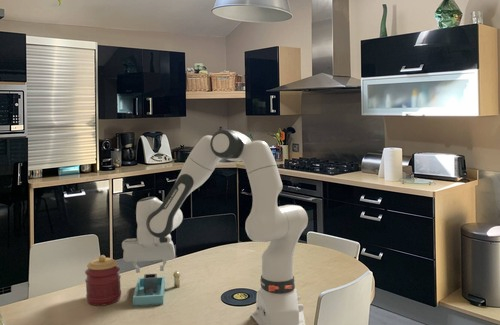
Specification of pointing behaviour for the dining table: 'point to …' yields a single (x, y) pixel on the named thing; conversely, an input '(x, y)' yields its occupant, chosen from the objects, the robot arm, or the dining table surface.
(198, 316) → the dining table surface
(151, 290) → the link
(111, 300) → the canister
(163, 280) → the tray
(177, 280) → the ball stud
